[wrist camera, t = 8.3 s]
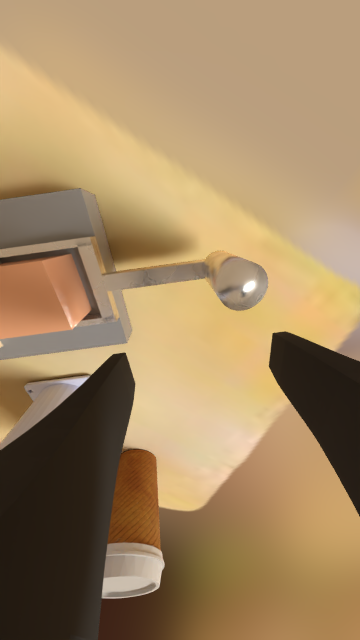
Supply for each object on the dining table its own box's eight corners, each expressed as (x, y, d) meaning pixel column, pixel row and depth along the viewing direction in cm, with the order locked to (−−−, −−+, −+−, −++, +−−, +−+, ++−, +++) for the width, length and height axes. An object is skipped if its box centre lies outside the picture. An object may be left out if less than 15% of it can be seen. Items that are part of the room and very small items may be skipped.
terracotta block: (71, 253, 14) (41, 260, 10) (91, 309, 16) (72, 329, 12) (4, 262, 14) (-45, 272, 10) (33, 317, 16) (-1, 339, 12)
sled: (230, 217, 13) (274, 208, 7) (230, 301, 16) (263, 339, 10) (-19, 252, 13) (-153, 267, 8) (25, 329, 16) (-50, 380, 10)
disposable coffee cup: (95, 462, 30) (53, 593, 19) (132, 434, 27) (108, 569, 16) (140, 481, 33) (126, 602, 22) (178, 458, 30) (182, 582, 20)
